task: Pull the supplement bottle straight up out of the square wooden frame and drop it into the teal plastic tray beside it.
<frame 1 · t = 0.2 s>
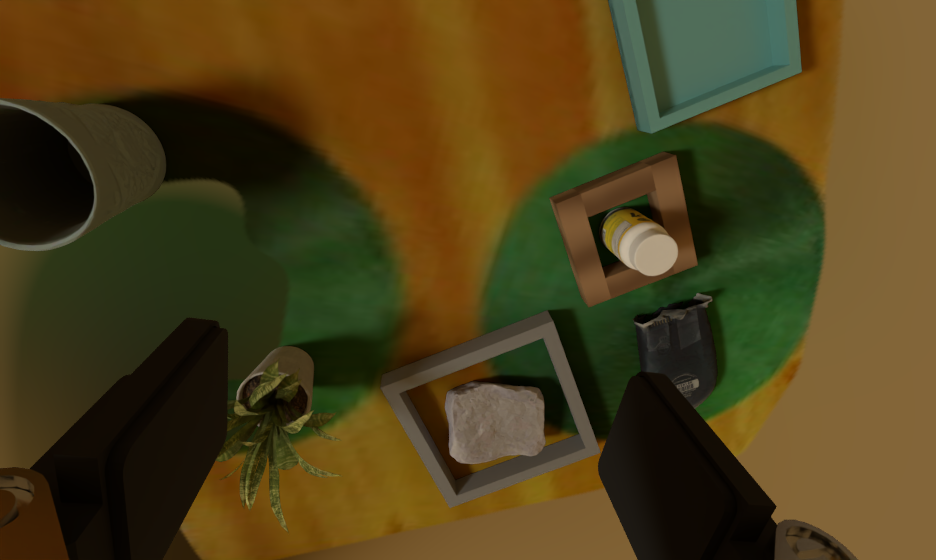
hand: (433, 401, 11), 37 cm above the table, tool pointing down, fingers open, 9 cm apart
supplement bottle: (619, 227, 50), on the table
house plant: (300, 371, 53), on the table
gray rectangular frame: (494, 408, 57), on the table
square wooden frame: (620, 228, 49), on the table
tray: (694, 23, 42), on the table
electronic device: (669, 353, 57), on the table
gray cup: (118, 152, 42), on the table
stone block: (493, 406, 58), on the table
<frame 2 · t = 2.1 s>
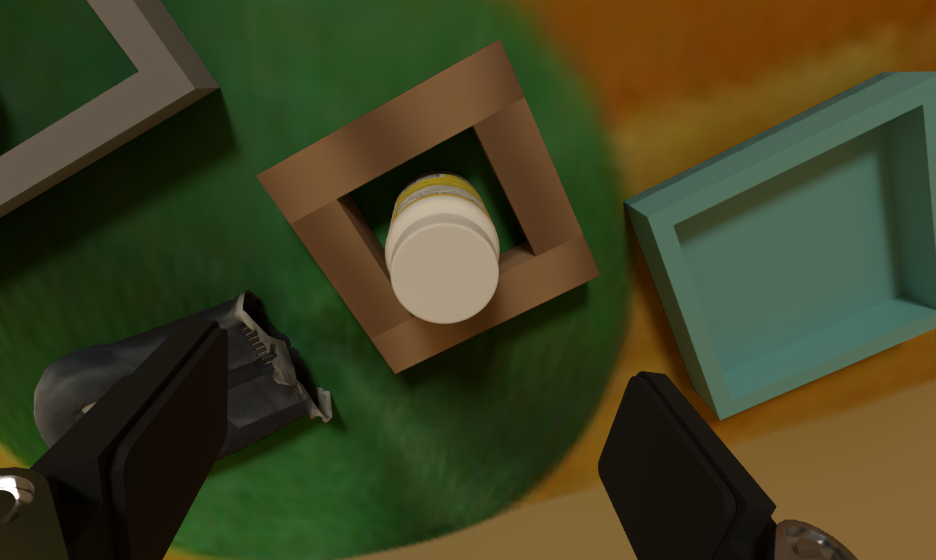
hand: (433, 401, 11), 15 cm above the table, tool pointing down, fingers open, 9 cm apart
supplement bottle: (439, 213, 25), on the table
square wooden frame: (439, 214, 25), on the table
tray: (776, 251, 27), on the table
electronic device: (189, 380, 28), on the table
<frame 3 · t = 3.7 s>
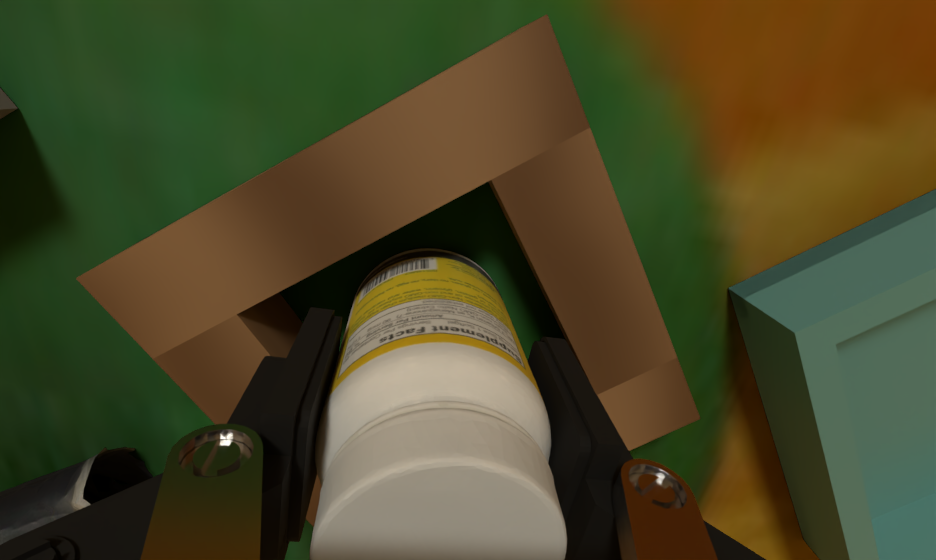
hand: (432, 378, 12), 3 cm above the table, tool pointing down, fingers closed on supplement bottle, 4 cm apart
supplement bottle: (428, 312, 15), on the table, touching gripper
square wooden frame: (429, 315, 15), on the table
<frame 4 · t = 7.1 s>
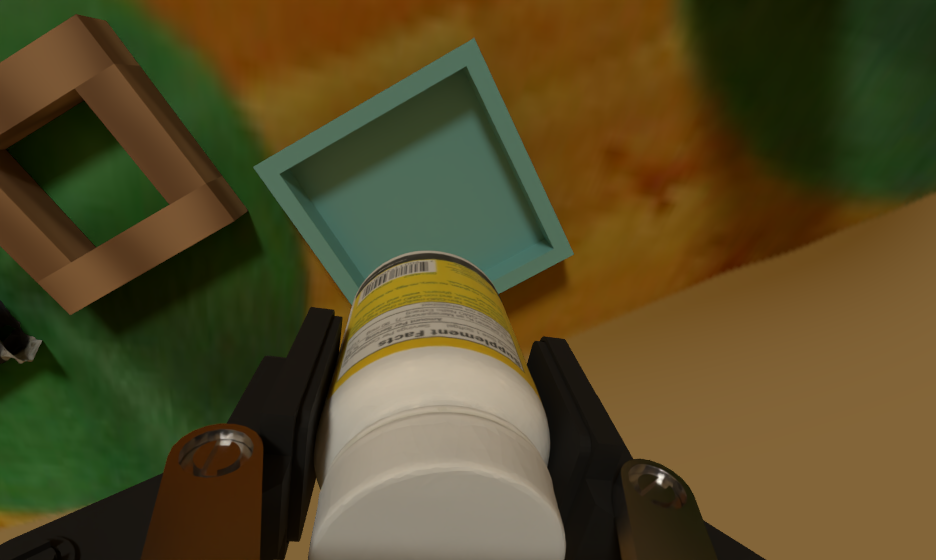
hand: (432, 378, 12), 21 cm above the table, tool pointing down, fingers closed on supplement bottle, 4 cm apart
supplement bottle: (428, 314, 15), point 17 cm above the table, touching gripper
square wooden frame: (100, 173, 28), on the table
tray: (423, 202, 31), on the table
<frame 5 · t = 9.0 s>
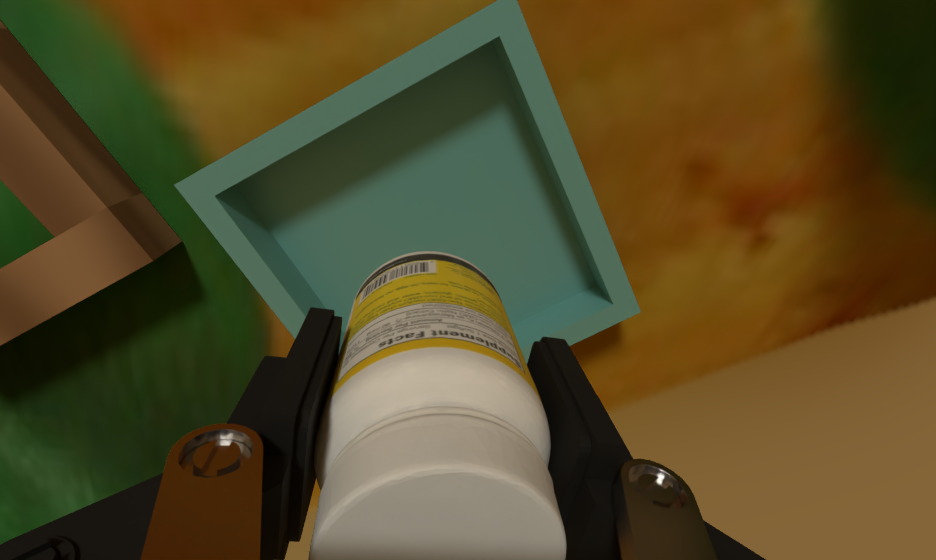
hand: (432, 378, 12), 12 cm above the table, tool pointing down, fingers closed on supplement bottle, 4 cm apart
supplement bottle: (428, 315, 15), point 8 cm above the table, touching gripper
tray: (430, 232, 22), on the table
when the fingers open (6 cm above the table, at t = 10.5 s): supplement bottle drops 1 cm, resting on tray.
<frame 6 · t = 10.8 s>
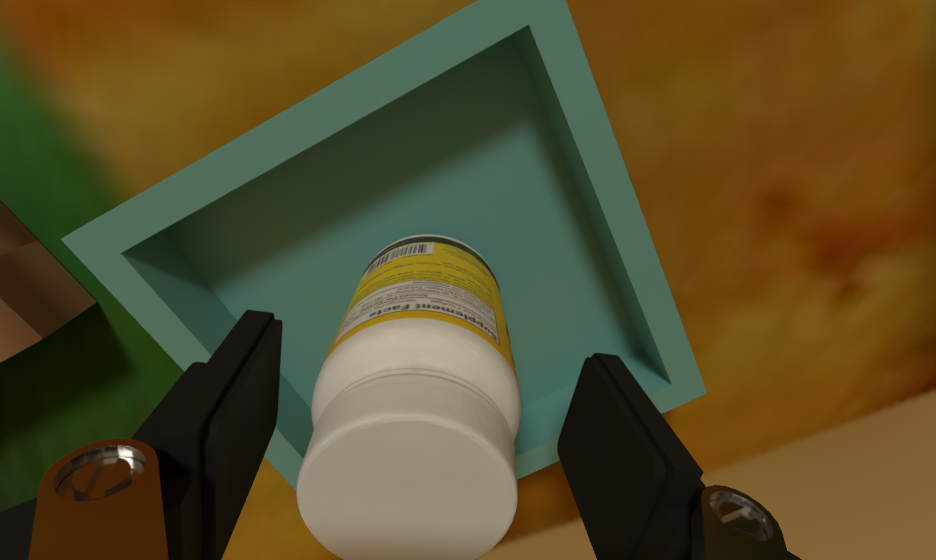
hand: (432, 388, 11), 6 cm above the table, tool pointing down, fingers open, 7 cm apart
supplement bottle: (431, 294, 16), point 1 cm above the table, touching tray
tray: (427, 287, 17), on the table
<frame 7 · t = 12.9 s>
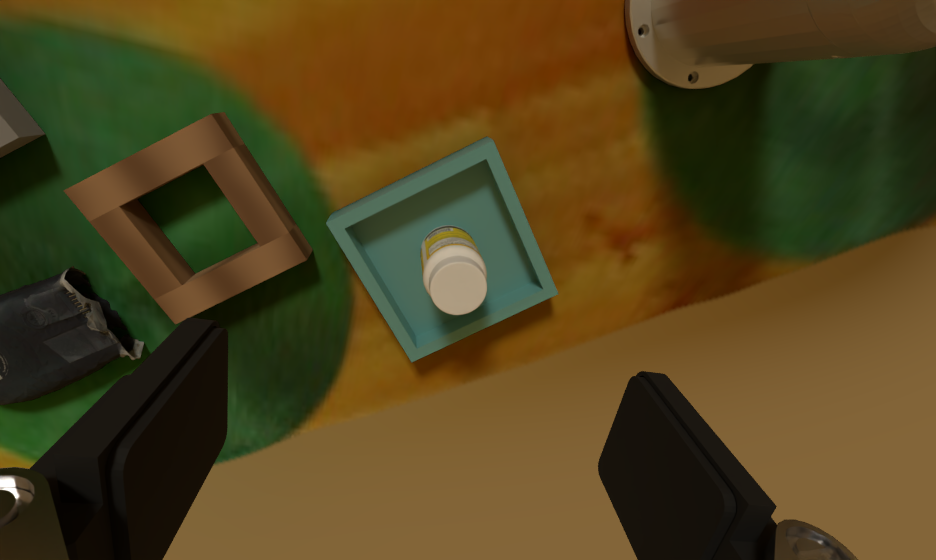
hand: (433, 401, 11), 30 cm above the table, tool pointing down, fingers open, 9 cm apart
supplement bottle: (447, 250, 40), point 1 cm above the table, touching tray
square wooden frame: (205, 218, 38), on the table
tray: (446, 248, 41), on the table
electronic device: (41, 332, 40), on the table
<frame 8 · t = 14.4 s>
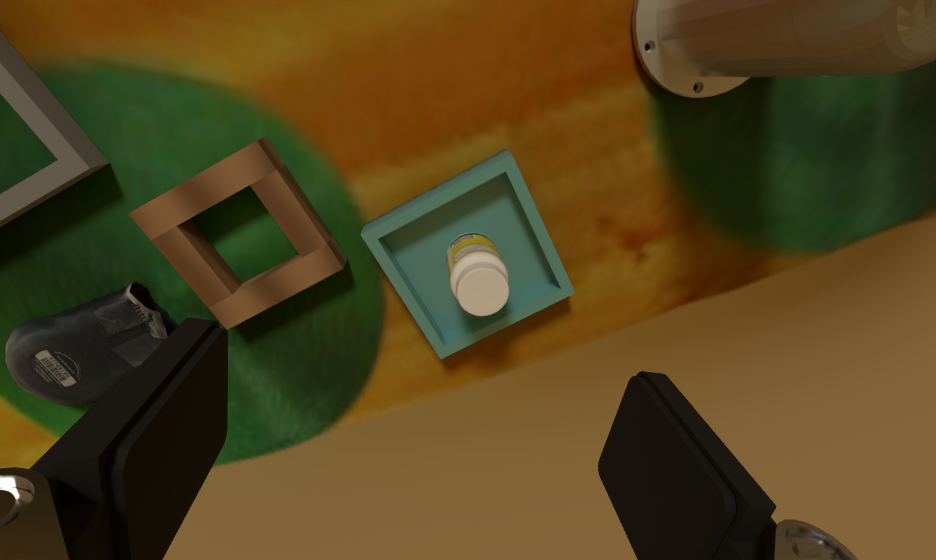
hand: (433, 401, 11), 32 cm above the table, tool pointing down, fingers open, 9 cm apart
supplement bottle: (471, 255, 43), point 1 cm above the table, touching tray
square wooden frame: (250, 233, 41), on the table
tray: (469, 253, 44), on the table
electronic device: (106, 340, 45), on the table
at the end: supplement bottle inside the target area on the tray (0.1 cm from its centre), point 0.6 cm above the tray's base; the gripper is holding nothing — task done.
